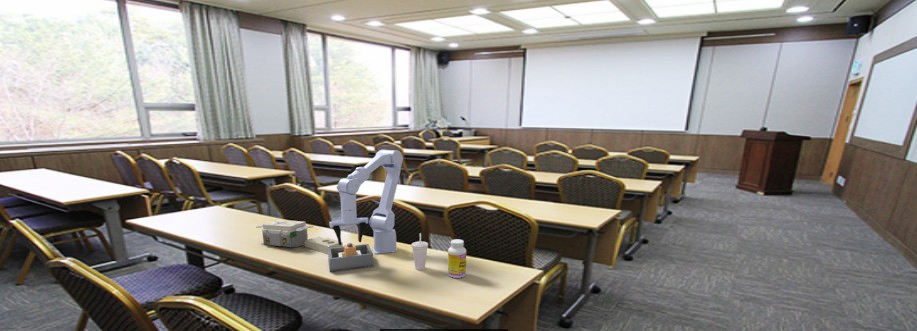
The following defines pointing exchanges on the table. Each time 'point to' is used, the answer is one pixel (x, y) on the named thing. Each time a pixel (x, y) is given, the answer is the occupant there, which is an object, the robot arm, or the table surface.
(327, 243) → the electrical outlet
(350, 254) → the plug
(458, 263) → the supplement bottle
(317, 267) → the table surface
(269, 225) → the grey latched case
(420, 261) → the smoothie
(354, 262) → the bay
